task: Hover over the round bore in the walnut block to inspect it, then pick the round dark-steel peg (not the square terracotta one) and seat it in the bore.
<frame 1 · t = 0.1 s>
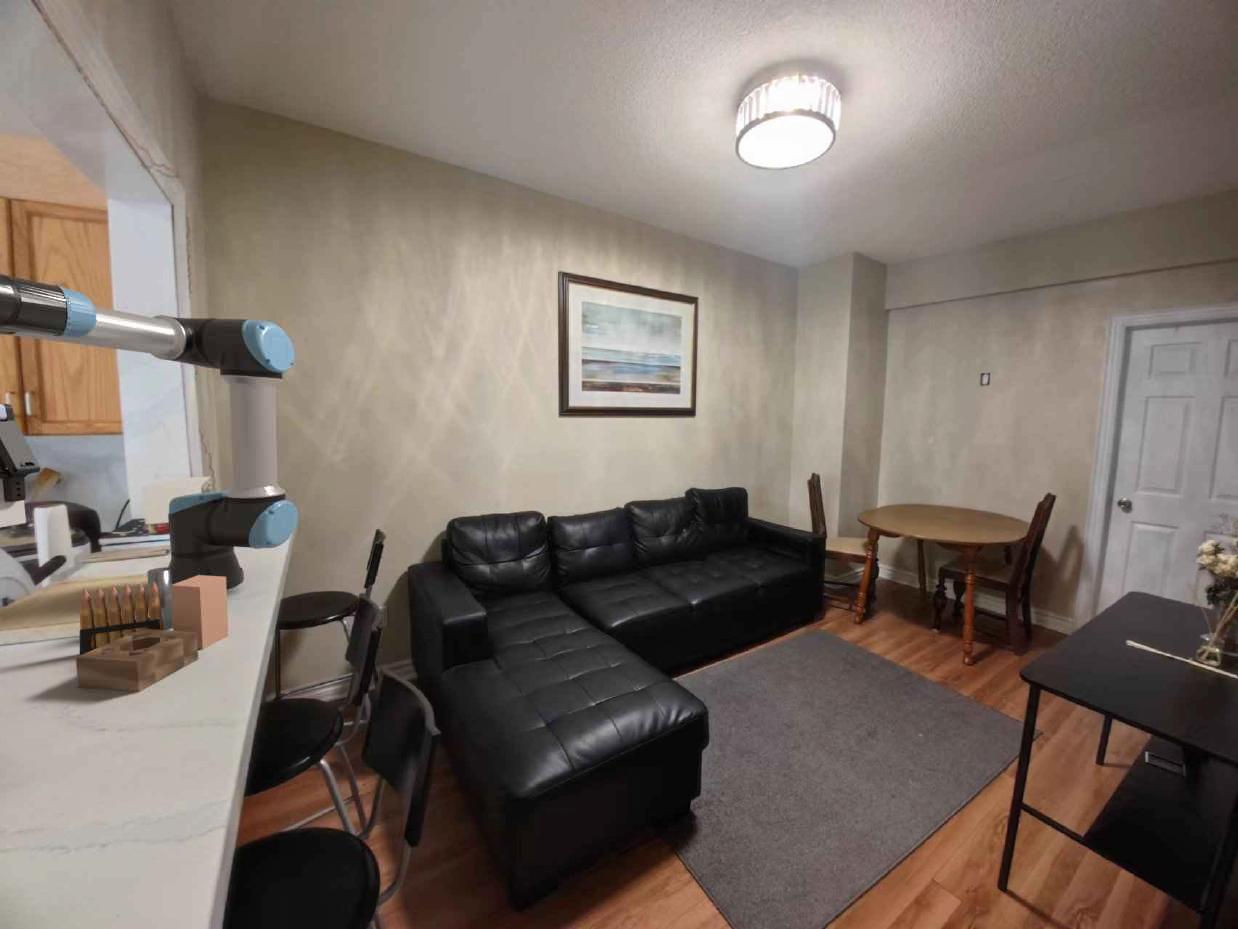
ammunition clip: (124, 650, 86), on the kitchen counter
square peg: (202, 641, 90), on the kitchen counter
round peg: (162, 628, 94), on the kitchen counter
bore block: (141, 672, 79), on the kitchen counter
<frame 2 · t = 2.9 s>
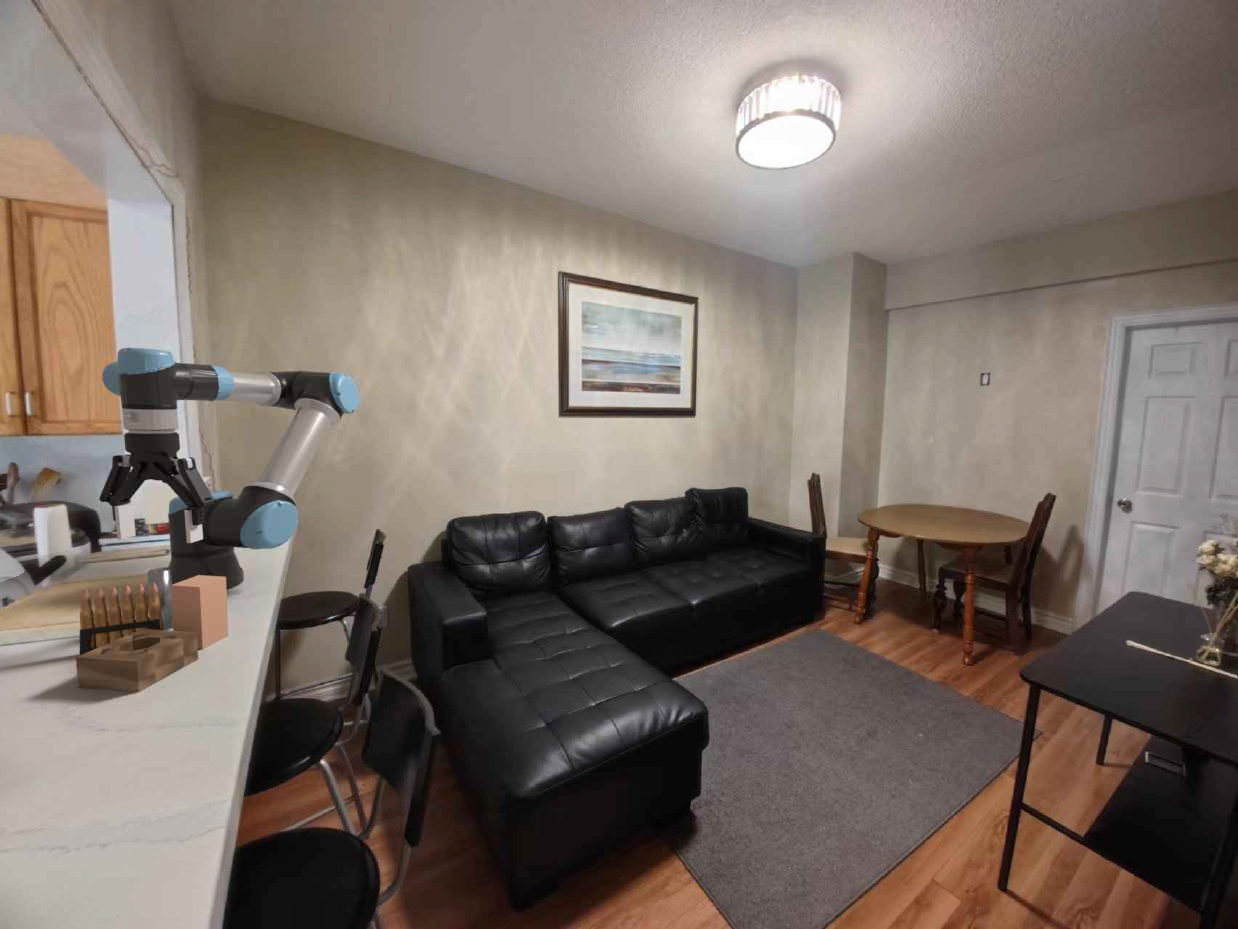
hand: (160, 539, 93), 18 cm above the kitchen counter, fingers open, 13 cm apart
nothing on the kitchen counter moved.
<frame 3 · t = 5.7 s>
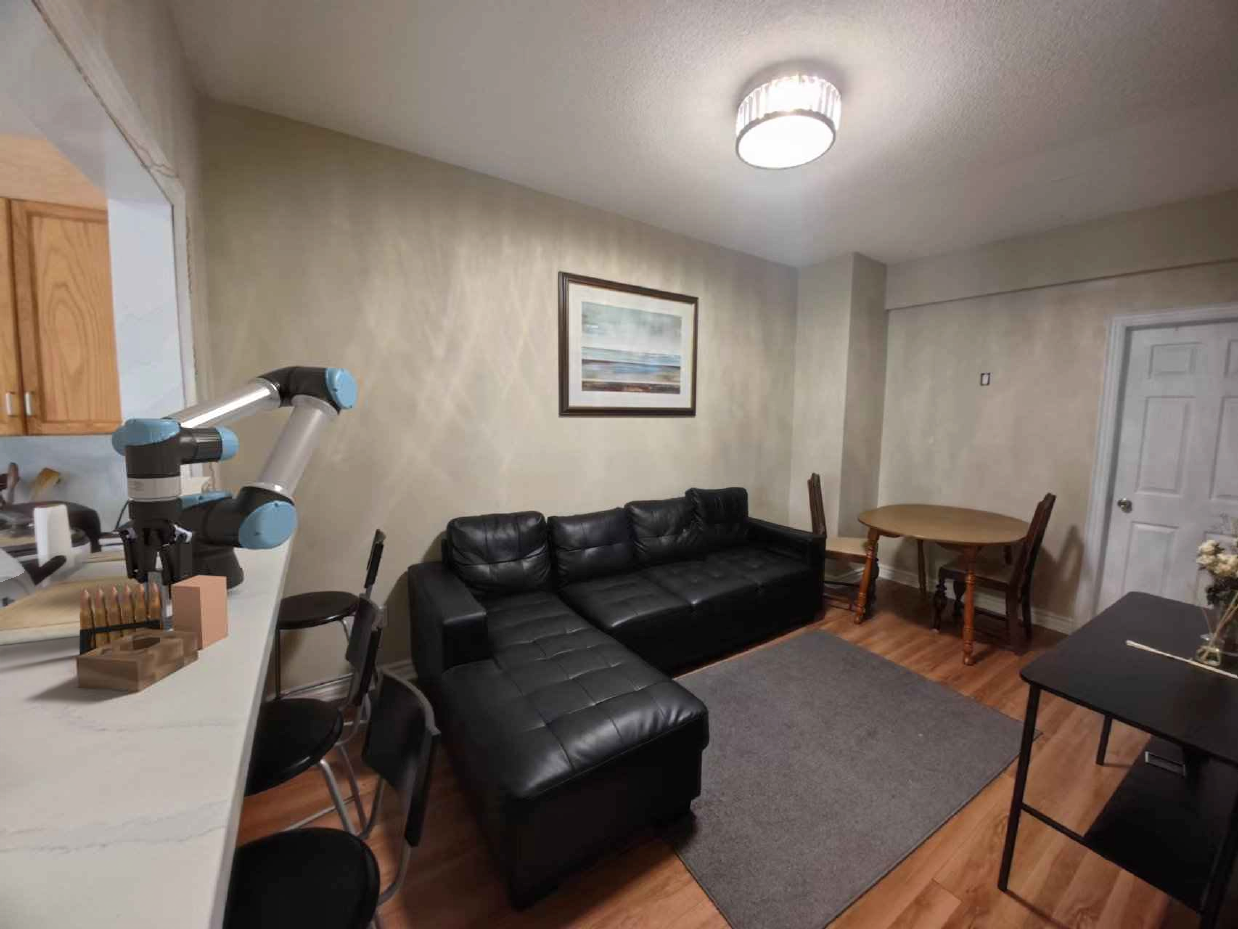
hand: (161, 613, 94), 3 cm above the kitchen counter, fingers closed on round peg, 3 cm apart
round peg: (162, 627, 94), on the kitchen counter, touching gripper
everything else where it was.
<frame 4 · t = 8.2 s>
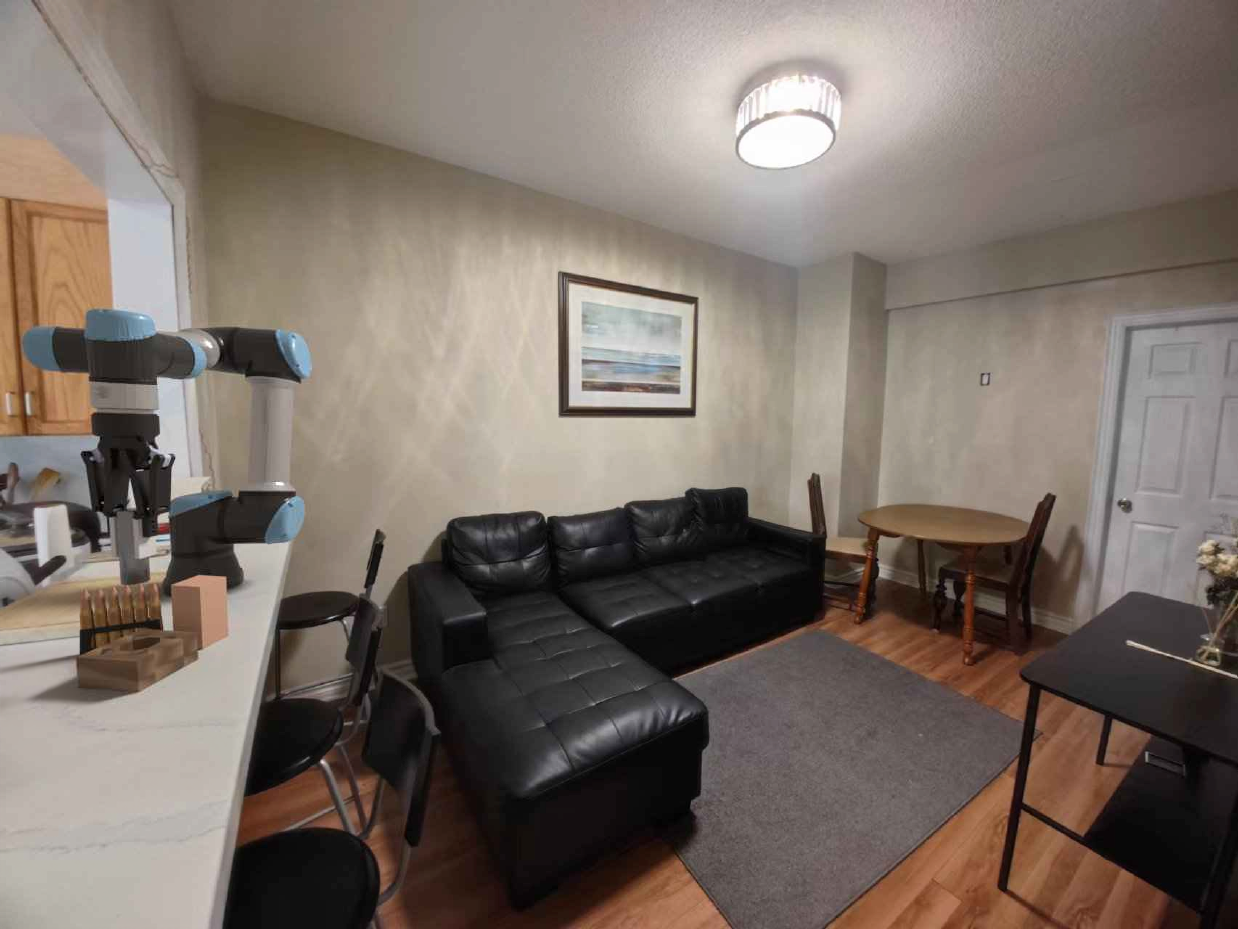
hand: (134, 555, 77), 20 cm above the kitchen counter, fingers closed on round peg, 3 cm apart
round peg: (135, 581, 77), point 16 cm above the kitchen counter, touching gripper
everything else where it was.
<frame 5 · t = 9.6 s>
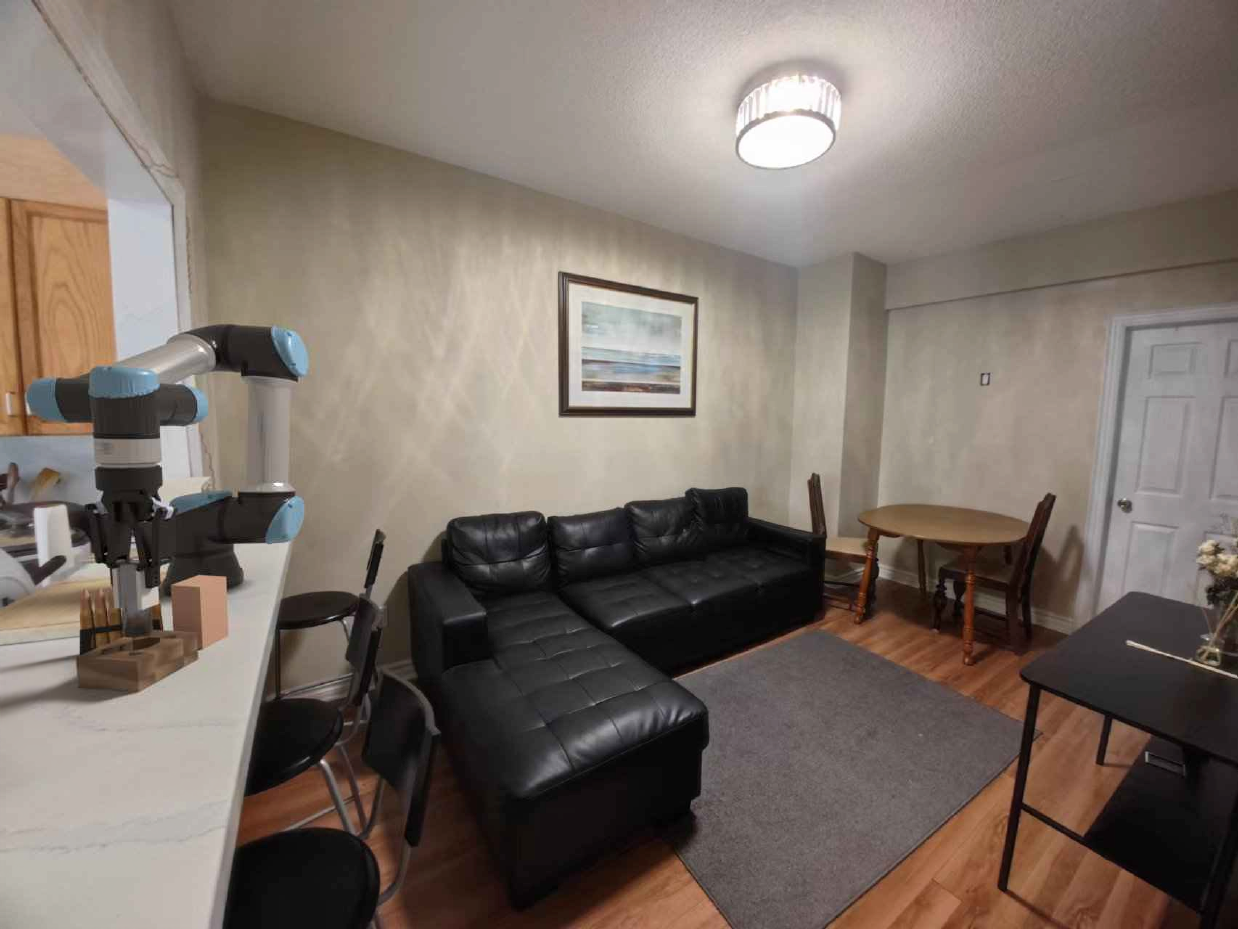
hand: (137, 605, 78), 12 cm above the kitchen counter, fingers closed on round peg, 3 cm apart
round peg: (138, 632, 78), point 7 cm above the kitchen counter, touching gripper
everything else where it was.
when the fingers open (7 cm above the kitchen counter, at t = 10.8 s): round peg drops 3 cm, resting in bore block.
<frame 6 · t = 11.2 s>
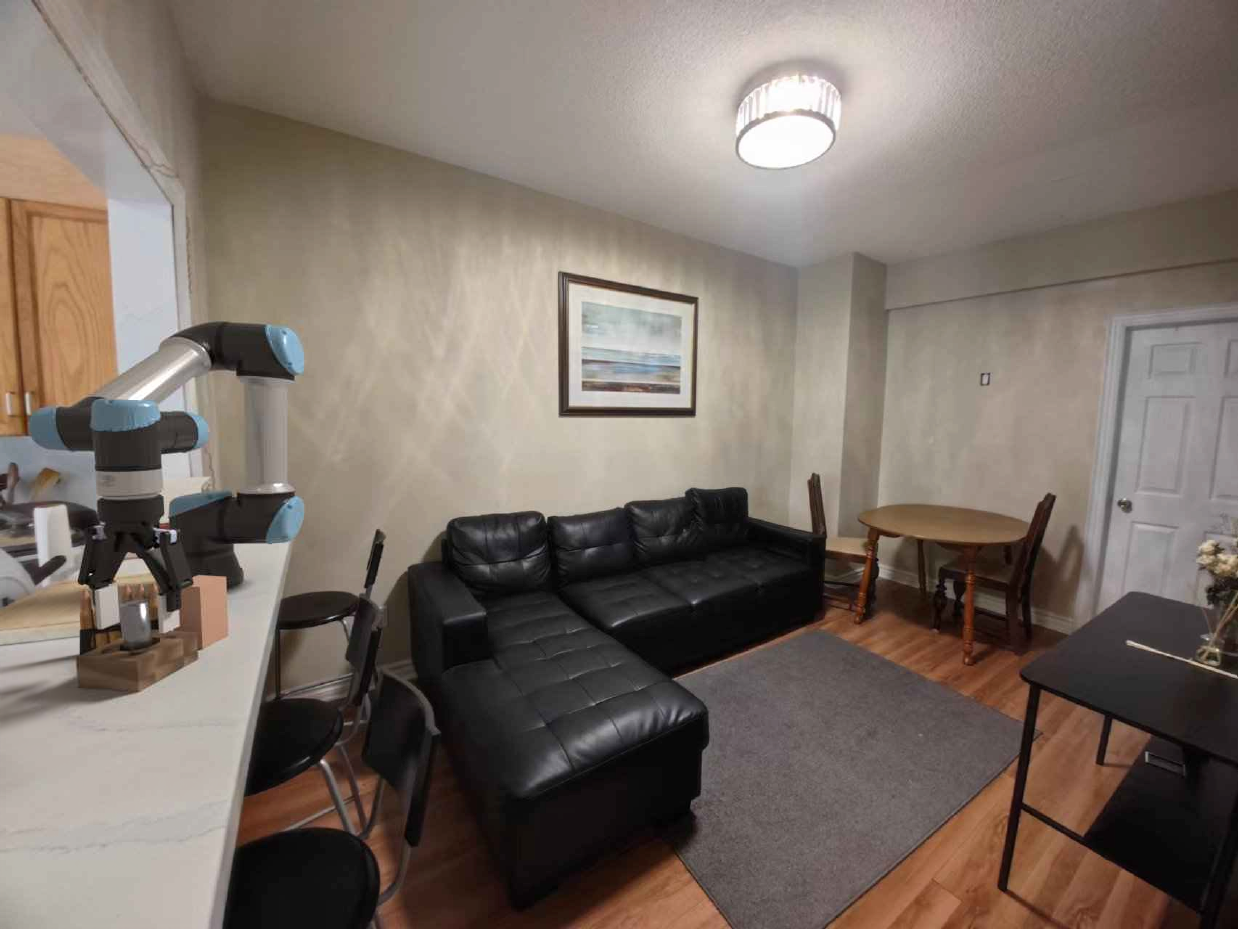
hand: (139, 627, 78), 8 cm above the kitchen counter, fingers open, 10 cm apart
round peg: (141, 672, 79), resting in bore block
everything else where it was.
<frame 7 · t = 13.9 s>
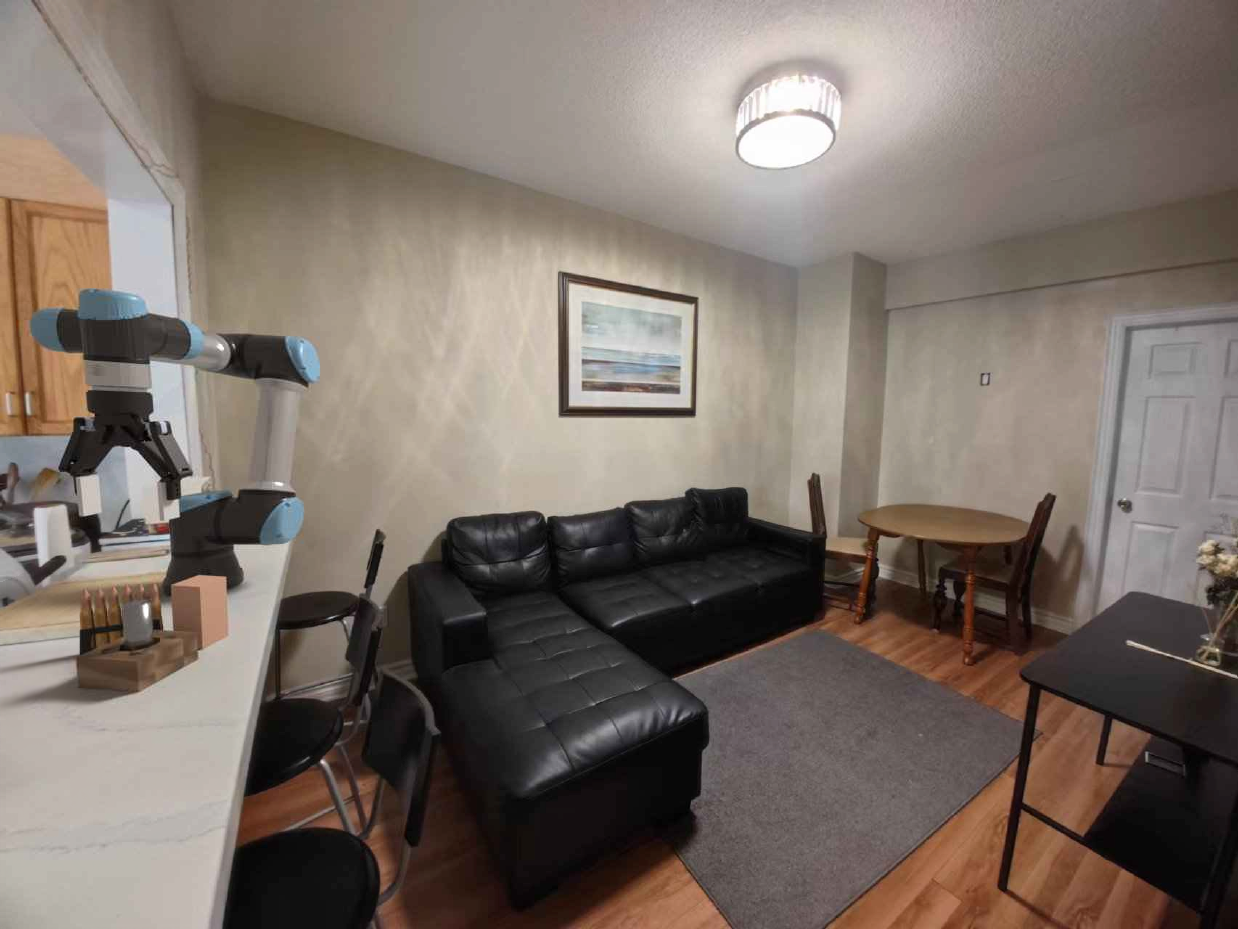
hand: (130, 516, 80), 26 cm above the kitchen counter, fingers open, 13 cm apart
nothing on the kitchen counter moved.
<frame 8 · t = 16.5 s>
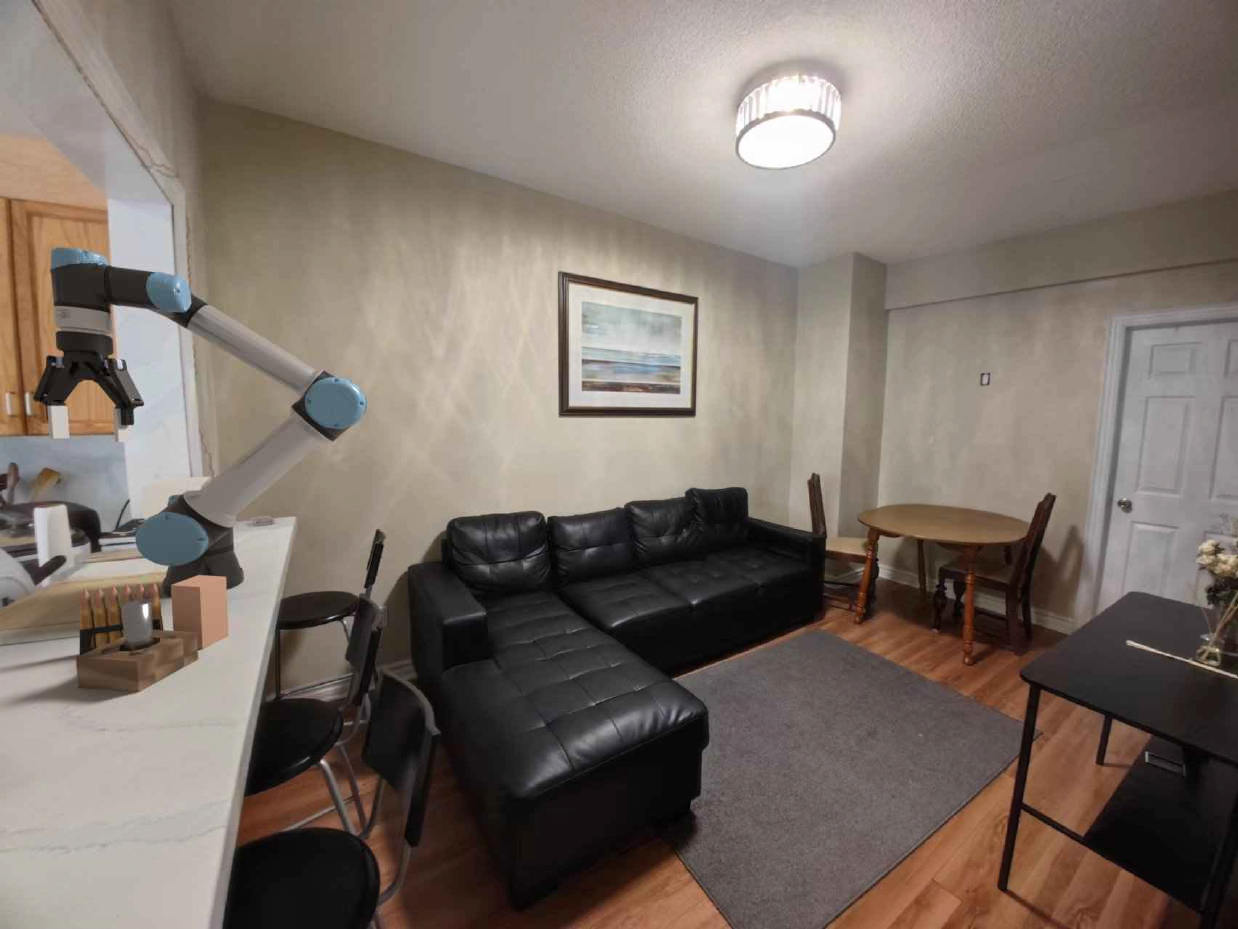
hand: (91, 440, 95), 37 cm above the kitchen counter, fingers open, 13 cm apart
nothing on the kitchen counter moved.
at the end: round peg 0.1 cm off-centre on the bore block, point 0.0 cm above the bore block's base; round peg tilted 0°; the gripper is holding nothing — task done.
